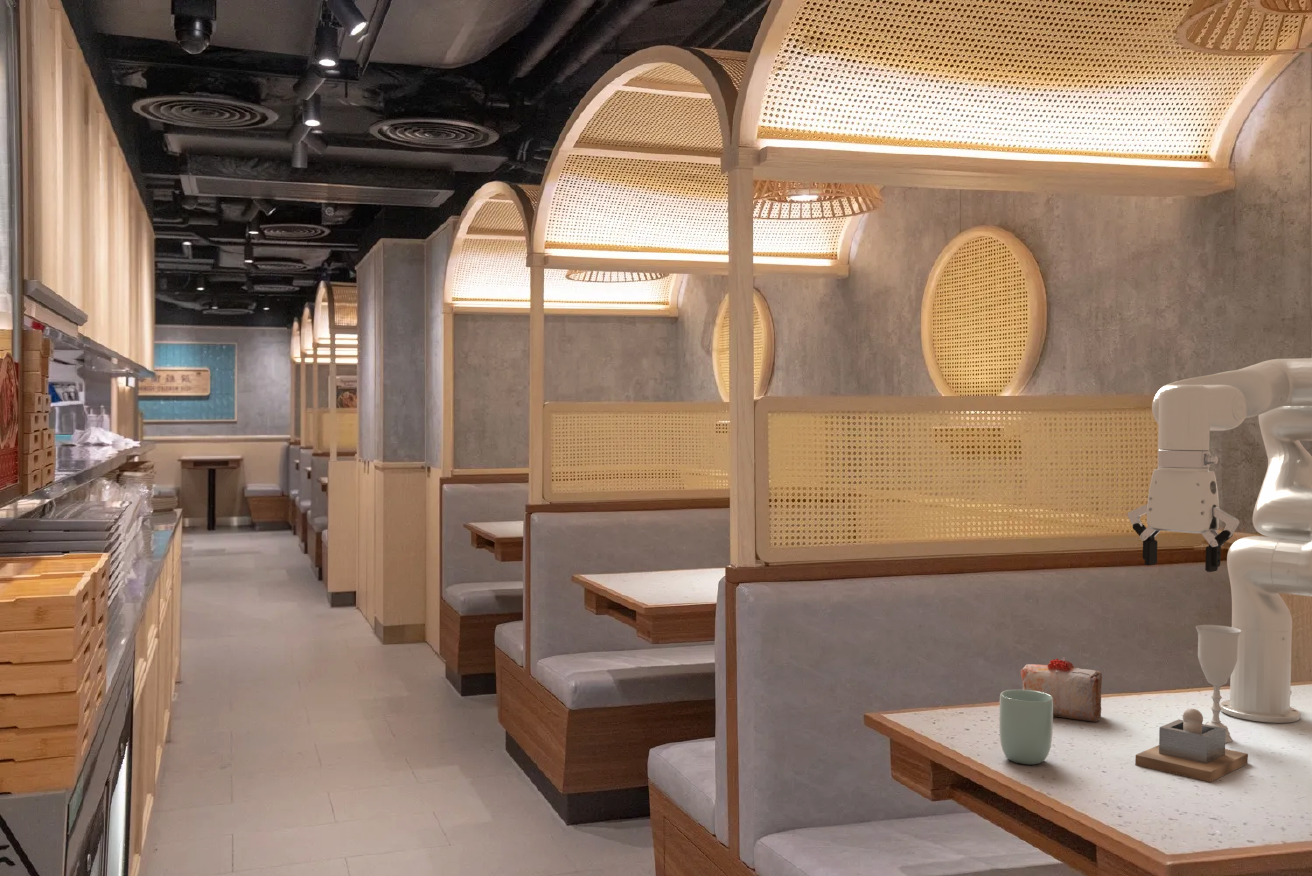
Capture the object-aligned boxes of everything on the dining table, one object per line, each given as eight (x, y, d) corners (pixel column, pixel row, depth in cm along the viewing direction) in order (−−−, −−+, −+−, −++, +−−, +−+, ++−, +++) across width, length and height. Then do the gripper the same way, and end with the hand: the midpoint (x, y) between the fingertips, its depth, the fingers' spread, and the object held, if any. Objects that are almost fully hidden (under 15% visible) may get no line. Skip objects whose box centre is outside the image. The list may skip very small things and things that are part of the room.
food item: (1015, 714, 206) (1016, 658, 206) (1025, 704, 213) (1026, 650, 212) (1096, 725, 199) (1097, 667, 199) (1104, 715, 206) (1106, 659, 206)
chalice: (1244, 745, 187) (1247, 633, 187) (1199, 742, 189) (1201, 631, 188) (1231, 733, 194) (1234, 626, 194) (1187, 730, 196) (1190, 623, 195)
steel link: (1178, 745, 182) (1178, 719, 181) (1225, 755, 176) (1225, 728, 176) (1158, 753, 177) (1159, 727, 177) (1206, 764, 172) (1207, 737, 172)
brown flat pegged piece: (1174, 747, 185) (1176, 695, 185) (1247, 763, 177) (1249, 708, 177) (1135, 764, 176) (1136, 709, 176) (1210, 782, 168) (1211, 724, 168)
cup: (996, 764, 175) (997, 698, 175) (1000, 751, 182) (1002, 687, 182) (1050, 771, 172) (1052, 703, 172) (1053, 757, 179) (1054, 692, 179)
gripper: (1248, 463, 184) (1246, 572, 184) (1140, 459, 196) (1138, 560, 197) (1230, 464, 178) (1227, 575, 179) (1119, 459, 191) (1117, 564, 191)
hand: (1180, 568), depth 188 cm, fingers open, 9 cm apart
